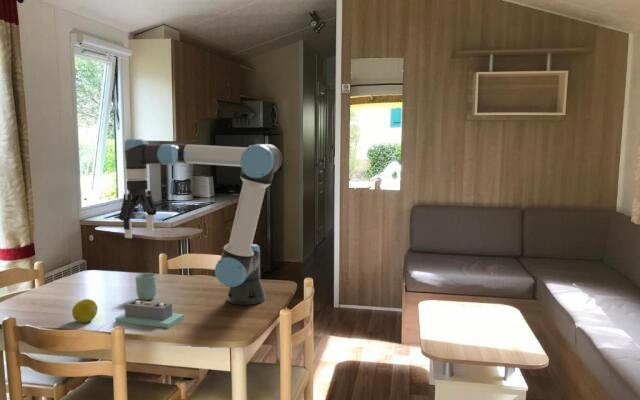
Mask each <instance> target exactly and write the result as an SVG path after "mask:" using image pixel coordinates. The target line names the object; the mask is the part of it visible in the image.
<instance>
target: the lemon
mask: <svg viewBox="0 0 640 400" xmlns="http://www.w3.org/2000/svg"><path fill="white" fill-rule="evenodd" d="M71 313H72V317H73V319H74V320H75V321H76V322H79V323H81V324H84V323H86V324H87V323H89V322H91V321H92V320H93V319H94V318H95V317H96V316H97V314H98V305H97V303H96V302H95V301H94V300H93V299H90V298H87V299H82V300H80V301H78V302H77V303H75V305H74V306H73V307H72V310H71Z"/></svg>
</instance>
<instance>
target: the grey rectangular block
mask: <svg viewBox="0 0 640 400" xmlns="http://www.w3.org/2000/svg"><path fill="white" fill-rule="evenodd" d="M136 301H140V304H139V305H135V302H136ZM161 303H163V304H164V307H159V304H161ZM124 313H125V317H134V318H143V319H152V320H161V321H164V320H166V319H167V318H169V317H171V316H172V313H173V304H172V303H167V302H160V301H159V302H158V301H150V300H141V299H133V300H131V301H129V302H127V303H125V304H124Z"/></svg>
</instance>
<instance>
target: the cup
mask: <svg viewBox="0 0 640 400" xmlns="http://www.w3.org/2000/svg"><path fill="white" fill-rule="evenodd" d="M157 287H158V286H157V275H156V273H153V272H145V273H138V274H137V275H135V289H136V295H137V297H138V298H139V299H138V300H140V301H150V300H153V299H154V298H155V297H156V295H157V289H158V288H157Z"/></svg>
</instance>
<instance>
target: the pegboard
mask: <svg viewBox="0 0 640 400" xmlns="http://www.w3.org/2000/svg"><path fill="white" fill-rule="evenodd" d="M140 301H141V300H140ZM140 301H136V302H135V305H139V304H140ZM160 303H161V304H159V307H164V304H163V303H164V302H160ZM184 319H185V314H184V313H176V312H175V313H174V312H172V316H171V317H169V318H167V319H166V320H164V321H161V320H152V319H143V318H134V317H125V312H124V313H122V314H120V315H119V316H117V317H115V323H119V324H120V323H121V324H128V325H129V324H131V325H140V326H147V327H148V326H149V327H155V328H156V327H159V328H166V329H169V328H172V327H173V326H175V325H176V324H177V323H179V322H181V321H183V320H184Z"/></svg>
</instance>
